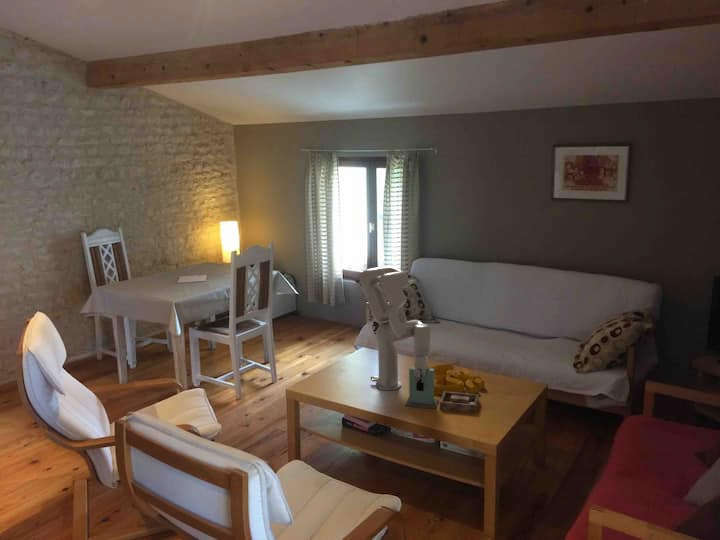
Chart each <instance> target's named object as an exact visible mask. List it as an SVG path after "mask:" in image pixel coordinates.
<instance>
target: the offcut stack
mask: <svg viewBox="0 0 720 540" xmlns="http://www.w3.org/2000/svg"><path fill="white" fill-rule="evenodd" d="M449 402H453V403H463V404H474V402H469V397H466V396H454V395H452V396H451V400H450V401H449Z"/></svg>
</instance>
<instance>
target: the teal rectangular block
mask: <svg viewBox="0 0 720 540" xmlns="http://www.w3.org/2000/svg"><path fill="white" fill-rule="evenodd" d="M430 368H431V367H428V369H427V371H426V376H425V377H424V378H423V382H424V390H423V391H417V390H416V382H417V377H415V376H414V371H415V366H410V367H409V369H408V370H409V371H408V372H409V373H408V374H409V375H408V377H409V378H408V379H409V381H408V387H409V389H408V391H409V397H408V398H409V402H415V403H425V404H433V403H434V399H435V394H434V369H430ZM421 372H422V371H421ZM421 376H423V375H421ZM421 379H422V378H421Z"/></svg>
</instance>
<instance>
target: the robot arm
mask: <svg viewBox="0 0 720 540" xmlns="http://www.w3.org/2000/svg"><path fill="white" fill-rule="evenodd" d="M409 283H410V282H409V277H408V275H407V274H406V273H405V272H404V271H403V270H401V269H398V268H396V267H393V266H390V265H386V266H379V267H372V268H367V269H365V270H363V271H362V272H361V273H360V276H359V284H360V288H361V290H362V292H363V294H364V295H365V297H366V299H367V302H368V305H369V309H370V312H371V314H372V318H373V319H374V321H375V322H376V323H377V324H378V323H379V324H382V323H386V322H388V323H386V324H382V325H380V326H378V327H377V329H376V331H375V336H376V342H377V350H378V351H377V352H378V353H377V354H378V359H377V360H378V375H377V376H374V375H371V376H370V380H371V382H376V383H375V386H376V387H375V388H377V389H379V390H382V391H395V390H398V389H400V388H401V387H402V382H401V381H399V366H398V365H399V357H398V356H399V355H398V349H397V347H396V346H395V343H398V342H404V341H406V340H408V339H410V338H413V355H414V367H415V371H414V376H415V377H417V382H416V390H417V391H423V390H424V382H423V378H424V377H425V376H426V371H427V369H428V368H429V357H430V356H431V326H430V325H429V324H428V323H427V324H426V323H423V322H422V321H421V320H419V319H412V320H408V319H407V316H406V313H405V310H404V308H403V306H404V305H405V304H406V303H407V301H408V298H407V296H406V295H405V293H404V291H403V289H406V288H407V287H408V286H409ZM377 285H380V287H381V288H379V287H377ZM421 371H422V372H421ZM421 375H423V376H421ZM421 378H422V379H421Z"/></svg>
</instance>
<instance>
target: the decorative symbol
mask: <svg viewBox="0 0 720 540" xmlns="http://www.w3.org/2000/svg"><path fill="white" fill-rule="evenodd" d="M429 368H430V369H434V395H438V394H440V395H439V396H442V395H443V393H444V391H446V392H457V393H465V390H466V392H467V393H468V394H477V393H478V392H479V391H481V390H484V389H485V387H486V386H485V385H486V383H485V381H484V379H483V380H482V377H480V376H479V375H477V376H473V373H472V371H470V370H468V369H467V368H465V367H463V368H461V369H460V370H459V371H460V373H457V371H455V370H454V366H453V365H452V364H438V365H433V366H431V367H429ZM483 388H484V389H483ZM478 389H479V390H478ZM480 389H481V390H480Z"/></svg>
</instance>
